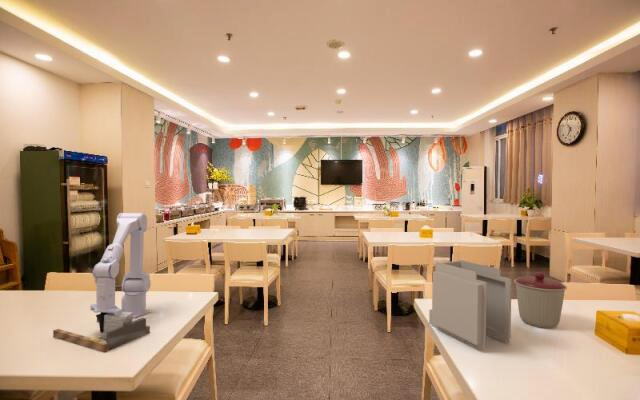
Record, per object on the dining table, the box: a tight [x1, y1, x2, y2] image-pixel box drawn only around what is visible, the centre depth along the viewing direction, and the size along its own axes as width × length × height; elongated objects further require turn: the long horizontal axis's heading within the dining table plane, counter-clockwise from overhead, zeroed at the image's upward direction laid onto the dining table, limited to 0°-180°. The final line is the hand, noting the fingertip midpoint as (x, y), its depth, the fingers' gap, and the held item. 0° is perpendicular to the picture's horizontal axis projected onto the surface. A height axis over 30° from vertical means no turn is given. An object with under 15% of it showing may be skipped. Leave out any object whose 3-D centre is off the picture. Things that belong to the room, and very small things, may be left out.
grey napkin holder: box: [428, 259, 513, 350], centre depth 125 cm, size 17×27×26 cm, turn 25°
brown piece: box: [52, 317, 151, 353], centre depth 122 cm, size 28×17×7 cm, turn 67°
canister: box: [513, 271, 568, 329], centre depth 136 cm, size 18×18×21 cm
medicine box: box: [103, 312, 133, 340], centre depth 119 cm, size 8×4×9 cm, turn 88°
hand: (105, 332), depth 121 cm, fingers closed, pressing on medicine box
